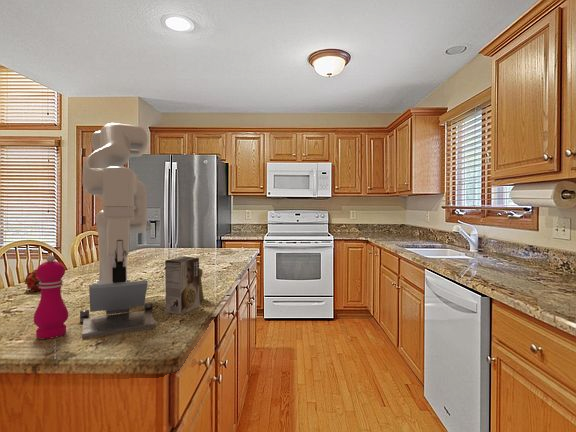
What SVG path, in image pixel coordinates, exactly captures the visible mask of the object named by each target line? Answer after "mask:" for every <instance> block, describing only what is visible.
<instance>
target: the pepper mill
mask: <svg viewBox="0 0 576 432" xmlns="http://www.w3.org/2000/svg"><path fill="white" fill-rule="evenodd" d="M45 259H46V261H45V262H42V263H41V264H40V265H39V266H38V267H37V268H36V270H37V271H36V276H37V278H38V279H39V280H40V282H39V288H41V289H40V299H39V300H40V301H39V303H38V305H37V307H36V310H35V311H34V315H33V324H34V325H35V326H36V327H38V328H37V329H36V330H35V333H36V334H35V337H36V338H37V337H38V338H37V339H39V338H49V339H52V338H51V337H55V338H57V337H56V336H58V337H60V335H61V336H63V335H65V334H66V333H67V325H66V324H65V323H66V321H67V320H68V319H69V311H68V308H67V306H66V304H65V302H64V300H63V298H62V292H61V289H62V286H63V285H64V284H63V283H64V282H63V279H62V278H63V277H64V276H65V274H66V268H65V265H64V264H63V263H61V262H59V261H55V260H56V257H55V255H52V254H50V255H47V257H46V258H45Z"/></svg>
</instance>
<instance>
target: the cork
mask: <svg viewBox="0 0 576 432" xmlns="http://www.w3.org/2000/svg"><path fill="white" fill-rule="evenodd" d="M202 276H203V269H202V268H201V267H199V302H202V301H203V300H205V298H204V291H203V283H202Z"/></svg>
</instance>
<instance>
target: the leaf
mask: <svg viewBox="0 0 576 432" xmlns="http://www.w3.org/2000/svg"><path fill="white" fill-rule="evenodd" d="M148 283H149V282H148V279H147V280H136V281H127V282H123V283H112V284H100V285H92V284H89V286H88V291H89V295H88V296H89V313H93V312H102V311H105V313H106V314H105V316H106V315H114V314H122V313H130V308H134V307H135V308H136V307H144V303H146V297H147V290H148Z"/></svg>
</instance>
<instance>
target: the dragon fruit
mask: <svg viewBox="0 0 576 432" xmlns="http://www.w3.org/2000/svg"><path fill="white" fill-rule="evenodd" d="M36 271H37V269H34V270H33V271H32V272H29V273H28V274H27V275H26V276H25V277H26V278H25V279H24V284H25V285H26V287H27V289H28V290H30V291H32V292H38V291H40V290H41V288H39V282H40V280H39V279H38V278H37V276H36Z"/></svg>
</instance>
